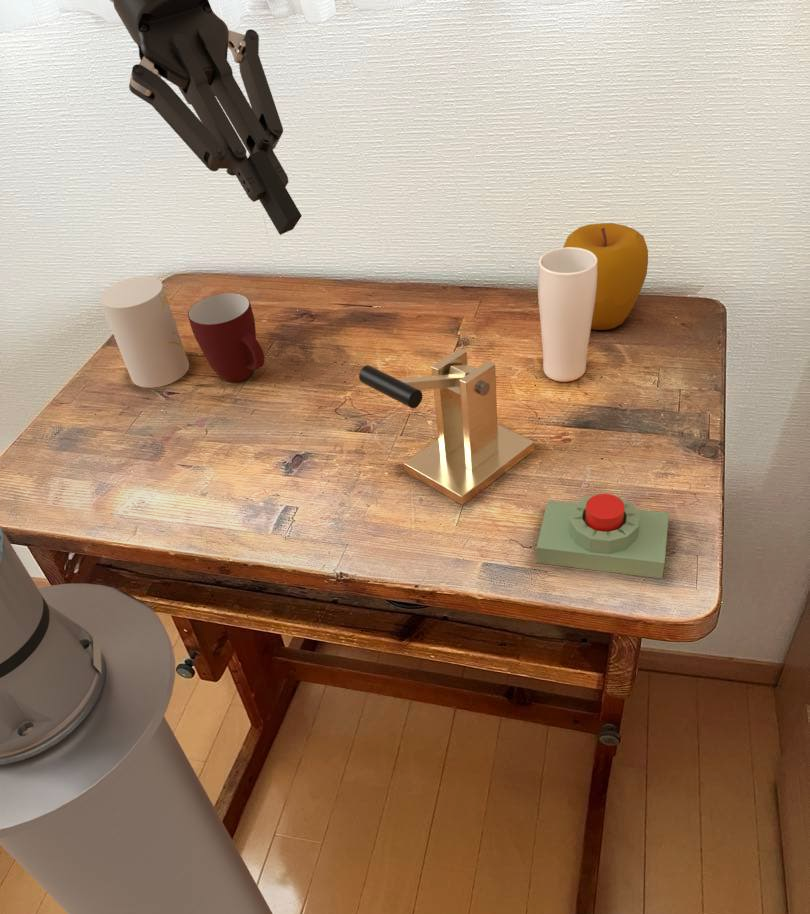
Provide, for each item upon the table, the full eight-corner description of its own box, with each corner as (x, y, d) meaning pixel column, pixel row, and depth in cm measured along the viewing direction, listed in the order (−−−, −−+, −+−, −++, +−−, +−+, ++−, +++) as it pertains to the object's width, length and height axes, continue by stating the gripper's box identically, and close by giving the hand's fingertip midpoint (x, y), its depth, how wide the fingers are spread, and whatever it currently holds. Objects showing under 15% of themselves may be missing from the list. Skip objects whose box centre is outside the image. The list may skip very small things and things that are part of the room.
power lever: (406, 412, 77) (411, 387, 76) (356, 386, 81) (361, 362, 80) (494, 401, 86) (500, 379, 85) (446, 378, 90) (451, 357, 89)
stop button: (583, 530, 80) (583, 516, 79) (587, 505, 82) (588, 491, 81) (621, 534, 79) (622, 520, 78) (625, 508, 81) (626, 495, 80)
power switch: (462, 505, 89) (454, 408, 80) (404, 471, 94) (391, 376, 86) (534, 450, 95) (534, 353, 86) (475, 421, 100) (470, 326, 91)
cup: (197, 372, 114) (171, 292, 106) (142, 394, 112) (110, 314, 103) (177, 348, 120) (150, 270, 111) (123, 369, 117) (92, 291, 109)
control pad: (536, 563, 82) (536, 534, 79) (547, 515, 87) (547, 486, 84) (662, 578, 79) (666, 549, 76) (666, 528, 84) (671, 498, 81)
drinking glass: (528, 365, 107) (528, 255, 97) (576, 352, 108) (581, 241, 98) (550, 392, 102) (553, 279, 92) (601, 378, 103) (609, 265, 93)
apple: (640, 299, 116) (649, 207, 107) (643, 341, 108) (653, 246, 99) (560, 300, 118) (562, 210, 109) (557, 341, 110) (559, 248, 101)
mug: (293, 371, 112) (277, 303, 105) (254, 402, 108) (234, 334, 101) (236, 353, 117) (217, 287, 110) (196, 382, 113) (174, 316, 106)
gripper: (82, -33, 66) (240, 233, 69) (221, -68, 72) (361, 180, 75) (77, 29, 73) (221, 269, 76) (204, -7, 78) (333, 219, 81)
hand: (290, 225), depth 75 cm, fingers closed
